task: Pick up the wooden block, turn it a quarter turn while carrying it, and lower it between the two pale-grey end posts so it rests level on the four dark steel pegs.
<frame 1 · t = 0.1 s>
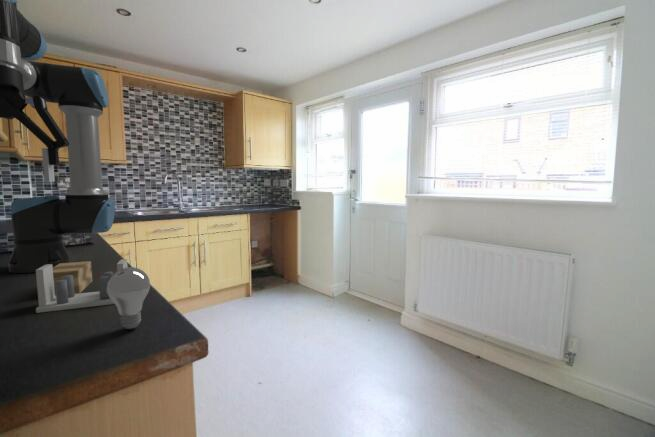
hand: (5, 181, 61), 28 cm above the table, fingers open, 13 cm apart
light bulb: (131, 329, 61), on the table
wooden block: (70, 289, 84), on the table
peg stand: (87, 301, 74), on the table
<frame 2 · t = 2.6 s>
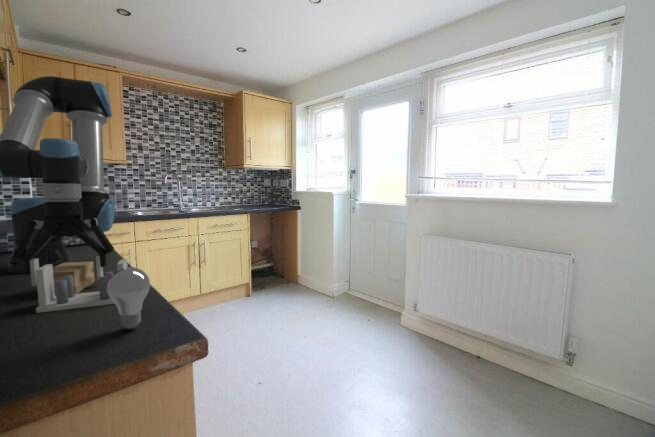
hand: (69, 281, 83), 2 cm above the table, fingers open, 13 cm apart
nothing on the table moved.
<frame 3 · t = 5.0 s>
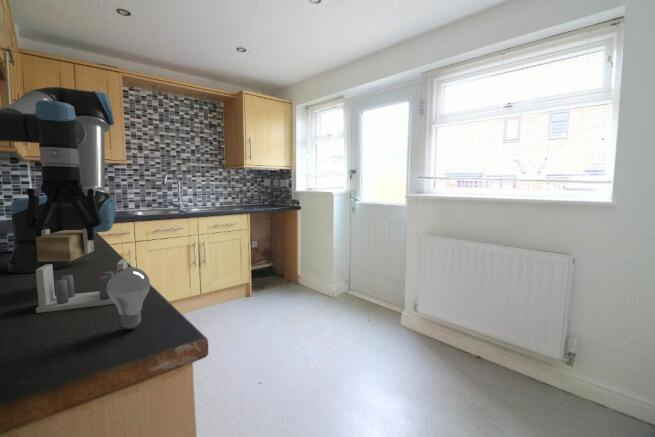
hand: (68, 253, 83), 9 cm above the table, fingers closed on wooden block, 8 cm apart
wooden block: (68, 255, 83), point 9 cm above the table, touching gripper
everything else where it was.
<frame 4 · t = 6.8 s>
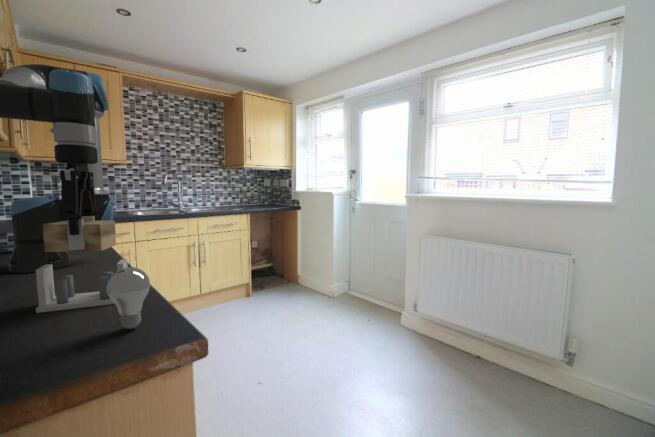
hand: (83, 245, 73), 13 cm above the table, fingers closed on wooden block, 8 cm apart
wooden block: (82, 248, 73), point 13 cm above the table, touching gripper
everything else where it was.
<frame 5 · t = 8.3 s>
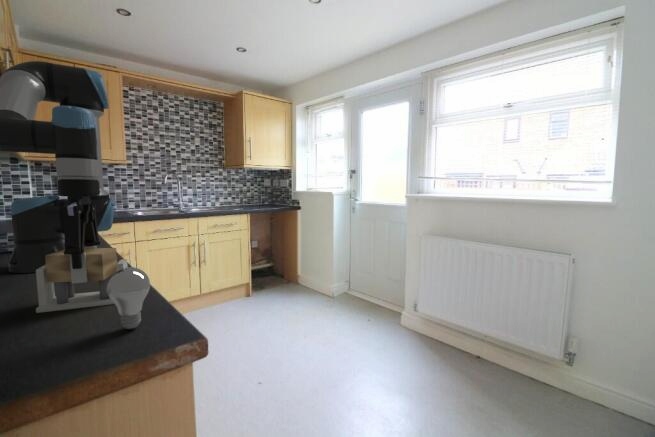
hand: (85, 277, 74), 6 cm above the table, fingers closed on wooden block, 8 cm apart
wooden block: (84, 276, 74), point 6 cm above the table, touching gripper, peg stand
everything else where it was.
when the fingers open (6 cm above the table, at t = 8.8 s): wooden block stays where it is, resting on peg stand.
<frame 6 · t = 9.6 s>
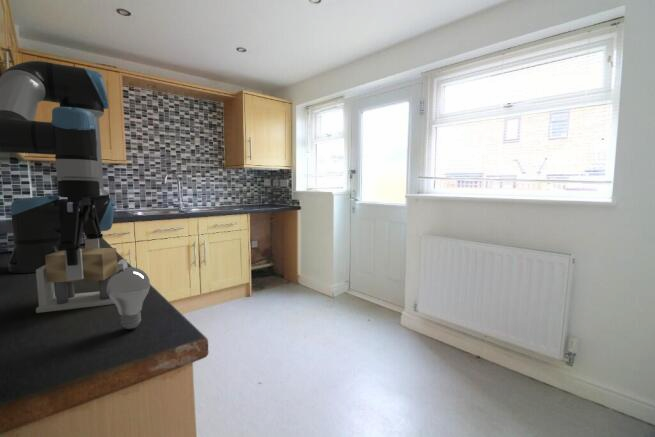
hand: (85, 271, 74), 7 cm above the table, fingers open, 13 cm apart
wooden block: (84, 276, 74), point 6 cm above the table, touching peg stand
everything else where it was.
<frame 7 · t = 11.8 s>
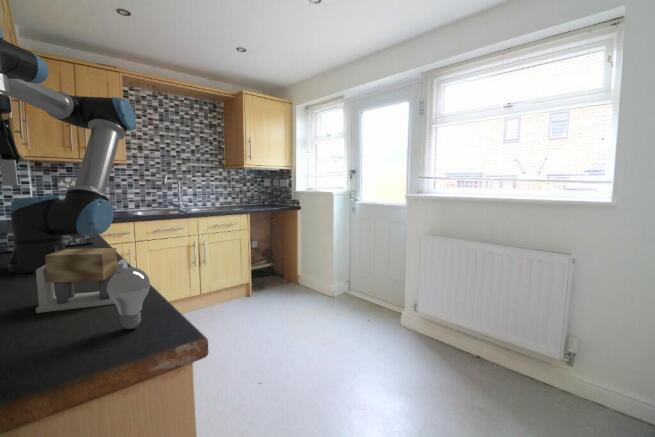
nothing on the table moved.
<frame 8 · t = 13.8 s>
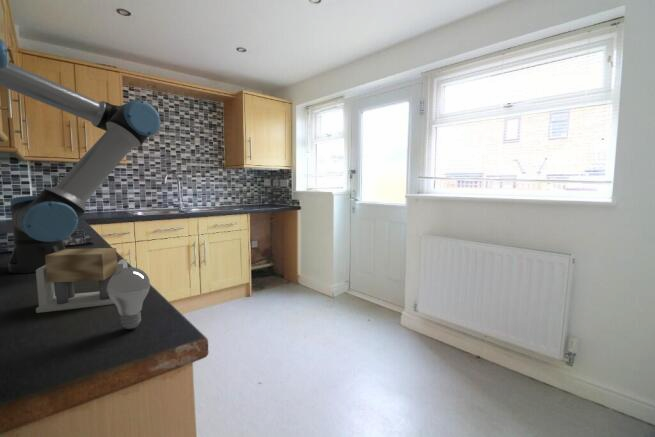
nothing on the table moved.
at the end: wooden block 0.2 cm off-centre on the peg stand, point 6.0 cm above the peg stand's base; wooden block tilted 0°; the gripper is holding nothing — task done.
